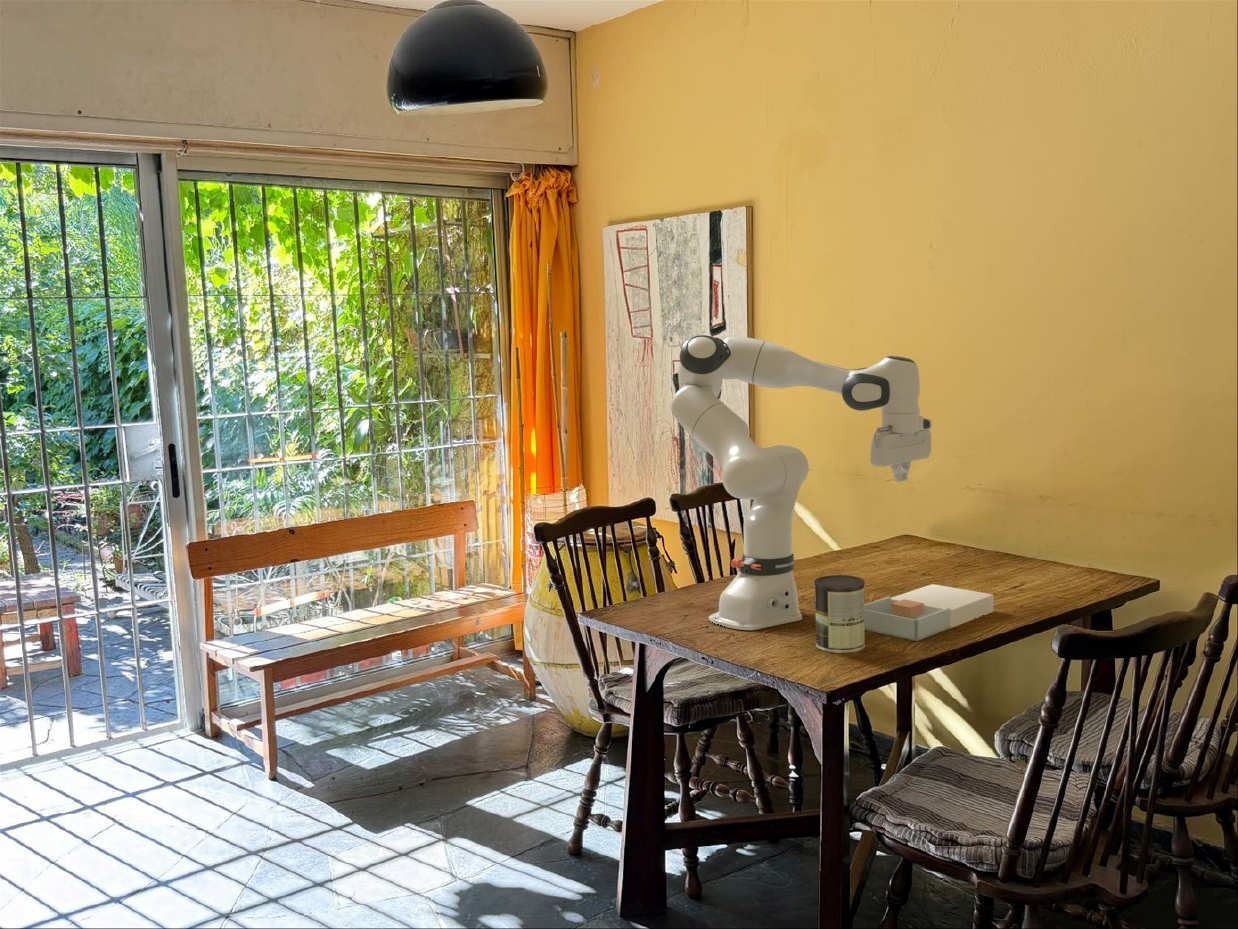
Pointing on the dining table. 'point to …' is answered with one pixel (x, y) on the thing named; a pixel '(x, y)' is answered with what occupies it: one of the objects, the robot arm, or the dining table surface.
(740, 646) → the dining table surface
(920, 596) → the white shallow box
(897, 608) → the tile terracotta
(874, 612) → the box
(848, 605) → the coffee can
